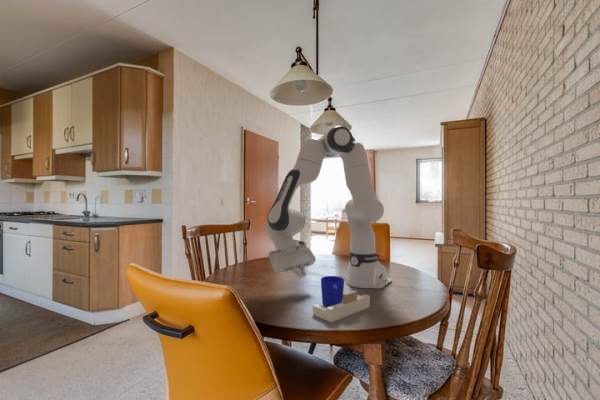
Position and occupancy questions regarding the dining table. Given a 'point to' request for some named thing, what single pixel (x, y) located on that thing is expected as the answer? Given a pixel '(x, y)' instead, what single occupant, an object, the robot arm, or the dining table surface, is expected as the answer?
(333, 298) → the mug
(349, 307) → the beige blocky open frame
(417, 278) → the dining table surface
